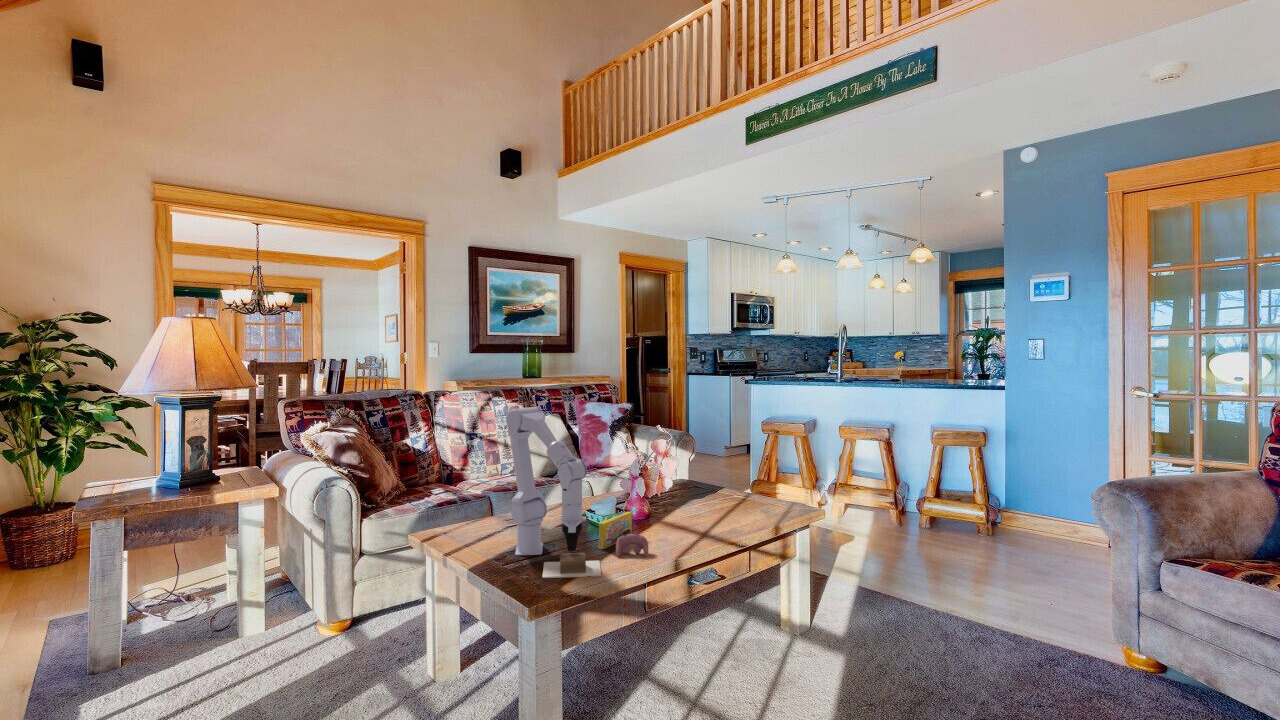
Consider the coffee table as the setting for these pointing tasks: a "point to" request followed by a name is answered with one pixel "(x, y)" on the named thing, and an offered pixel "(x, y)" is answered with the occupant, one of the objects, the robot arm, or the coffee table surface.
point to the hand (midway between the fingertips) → (571, 550)
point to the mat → (554, 572)
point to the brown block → (572, 563)
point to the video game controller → (631, 539)
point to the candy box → (614, 529)
